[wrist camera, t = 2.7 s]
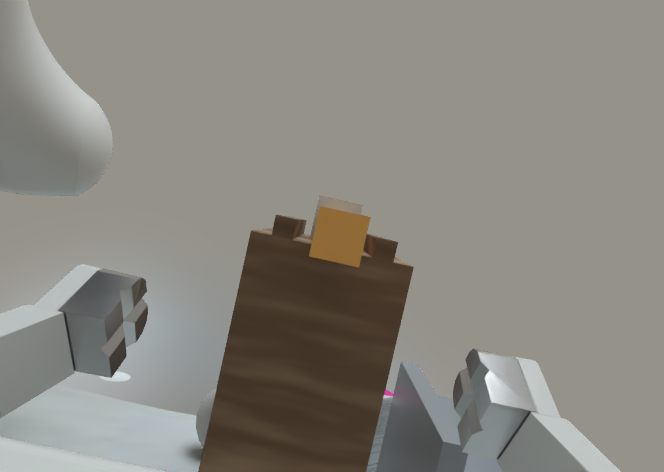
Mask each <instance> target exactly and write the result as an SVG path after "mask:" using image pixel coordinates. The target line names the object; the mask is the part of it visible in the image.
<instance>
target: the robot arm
mask: <svg viewBox="0 0 664 472" xmlns="http://www.w3.org/2000/svg"><path fill="white" fill-rule="evenodd" d="M112 151H113V139H112V132H111V128H110V125H109V122H108V120H107V118H106V116H105V114H104V112H103V110H102V109H101V107H100V106H99V105H98V103H97V102H96V101H95V100H93V99H92V98H91V97H90V96H88V95H87V94H86V93H85V92H84V91H82V90H81V89H80V88H79V87H78V86H77V85H76V84H75V83H74V82H73V81H72V80H71V79H70V77H69V76H68V75H67V74H66V73H65V72H64V70H63V69H62V68H61V67H60V65H59V64H58V63H57V61H56V60H55V59H54V57H53V56H52V54H51V52H50V51H49V49H48V47H47V46H46V44H45V43H44V41H43V39H42V37H41V35H40V33H39V31H38V29H37V27H36V24H35V22H34V20H33V17H32V14H31V11H30V8H29V4H28V0H0V191H5V192H10V193H15V194H21V195H46V196H78V195H80V194H82V193H84V192H85V191H87V190H88V189H90V188H91V187H92V186H94V185H95V184H96V183H97V182H98V181H99V180H100V179H101V177H102V176H103V175H104V173H105V171H106V169H107V168H108V165H109V163H110V160H111V156H112ZM146 292H147V289H146V281H145V280H144V279H143V278H141V277H137V276H133V275H128V274H124V273H120V272H115V271H112V270H107V269H101V268H97V267H93V266H89V265H85V264H82V265H79V266H76V267H75V268H74V269H73V270H72V271H71V272H69V273H68V274H67V275H66V276H65V277H64V278H63V279H62V280H61V281H60V282H58V283H57V284H56V285H55V286H54V287H53V288H52V289H51V290H50V291H49V292H48V293H46V294H45V295H44V296H43V297H42V298H41V299H40V300H39V301H38V302H37V303H35V304H34V305H33V306H31V305H24V306H21V307H18V308H15V309H12V310H9V311H7V312H4V313H1V314H0V418H1V417H3V416H5V415H6V414H8V413H10V412H11V411H13V410H15V409H16V408H18V407H19V406H21V405H23V404H24V403H26V402H28V401H29V400H31V399H33V398H34V397H36V396H38V395H39V394H41V393H43V392H44V391H46V390H47V389H49V388H51V387H52V386H54V385H56V384H57V383H59V382H61V381H62V380H64V379H66V378H67V377H69V376H70V375H72V374H74V371H77V372H83V373H88V374H94V375H99V376H104V377H110V378H112V376H113V375H114V373H115V372H116V370H117V369H118V367H119V366H120V365H121V363H122V362H123V360H124V359H125V357H126V347H127V346H129V345H131V344H133V343H135V342H136V341H137V340H138V338H139V337H140V335H141V334H142V332H143V329H144V327H145V324H146V321H147V314H148V307H147V304H146V303H145V302H144V300H143V299H142V297H143V296H144V294H145V293H146ZM466 363H467V368H466V369H464V370H462V371H460V372H459V374H458V376H457V378H456V380H455V385H454V390H453V403H454V410H455V411H456V412H457V414H458V415H459V416H460V417H461V420H460V422H459V424H458V426H457V427H458V433H459V439H460V444H461V450H462V452H464V453H468V454H472V455H476V456H481V457H485V458H489V459H493V460H497V463H498V465H499V466H500V468H501V469H502V471H503V472H621V471H620V470H619V469H617V467H616V466H614V465H613V464H612V463H611V462H610V461H609V460H608V459H607V458H606V457H605V456H604V455H603V454H602V453H601V452H600V451H599V450H598V449H597V448H596V447H595V446H594V445H593V444H592V443H591V442H590V441H589V440H588V439H587V438H586V437H585V436H584V435H582V434H581V433H580V432H579V431H578V430H577V429H576V428H575V427H574V426H573V425H572V424H571V423H570V422H569V421H568V420H566V419H562V418H560V416H559V413H558V410H557V408H556V406H555V403H554V401H553V399H552V396H551V394H550V391H549V389H548V386H547V384H546V382H545V379H544V377H543V375H542V372H541V370H540V367H539V365H538V364H537V363H536V362H535V361H534V360H529V359H523V358H518V357H511V356H507V355H502V354H497V353H492V352H488V351H482V350H478V349H472V350H471V351H470V352H469V354H468V356H467V358H466ZM0 472H168V471H163V470H158V469H154V468H149V467H144V466H139V465H135V464H130V463H125V462H120V461H116V460H111V459H106V458H101V457H96V456H92V455H87V454H82V453H77V452H73V451H68V450H63V449H58V448H54V447H49V446H44V445H39V444H35V443H30V442H25V441H20V440H16V439H11V438H6V437H1V436H0Z"/></svg>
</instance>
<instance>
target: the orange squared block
mask: <svg viewBox="0 0 664 472" xmlns="http://www.w3.org/2000/svg"><path fill="white" fill-rule="evenodd" d="M361 210H362V205H360V204H355V203H351V202H347V201H342V200H338V199H334V198H329V197H325V196H319V200H318V204H317V209H316V213H315V218H314V222H313V227H312V232H311V236H310V239H313V240H312V244H311V249H310V253H309V256H310V257H314V258H319V259H323V260H328V261H332V262H337V263H341V264H346V265H350V266H354V267H359V266H360V261H361V257H362V252H363V248H364V244H365V239H366V235H367V230H368V226H369V222H370V217H367V216H363V215H361Z"/></svg>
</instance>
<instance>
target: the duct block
mask: <svg viewBox="0 0 664 472" xmlns="http://www.w3.org/2000/svg"><path fill="white" fill-rule="evenodd" d="M460 420H461V417H460V416H459V415H458V414H457V412H456V411H455V410H454V403H453V399H451V398H446V397H442V396H437V394H436V393H435V391H434V389H433V388H432V386H431V385H430V383H429V381H428V380H427V378H426V377H425V375H424V373H423V372H422V370H421V369H420V367H419V366H418V365H416V364H412V363H407V362H401V365H400V369H399V373H398V378H397V382H396V386H395V391H394V395H393V399H392V403H391V408H390V412H389V416H388V421H387V425H386V429H385V434H384V438H383V442H382V447H381V451H380V455H379V459H378V464H377V468H376V472H503V471H502V469H501V468H500V466H499V465H498V463H497V460H493V459H489V458H485V457H481V456H476V455H472V454H468V453H464V452H462V450H461V444H460V439H459V433H458V427H457V426H458V424H459V422H460Z"/></svg>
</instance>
